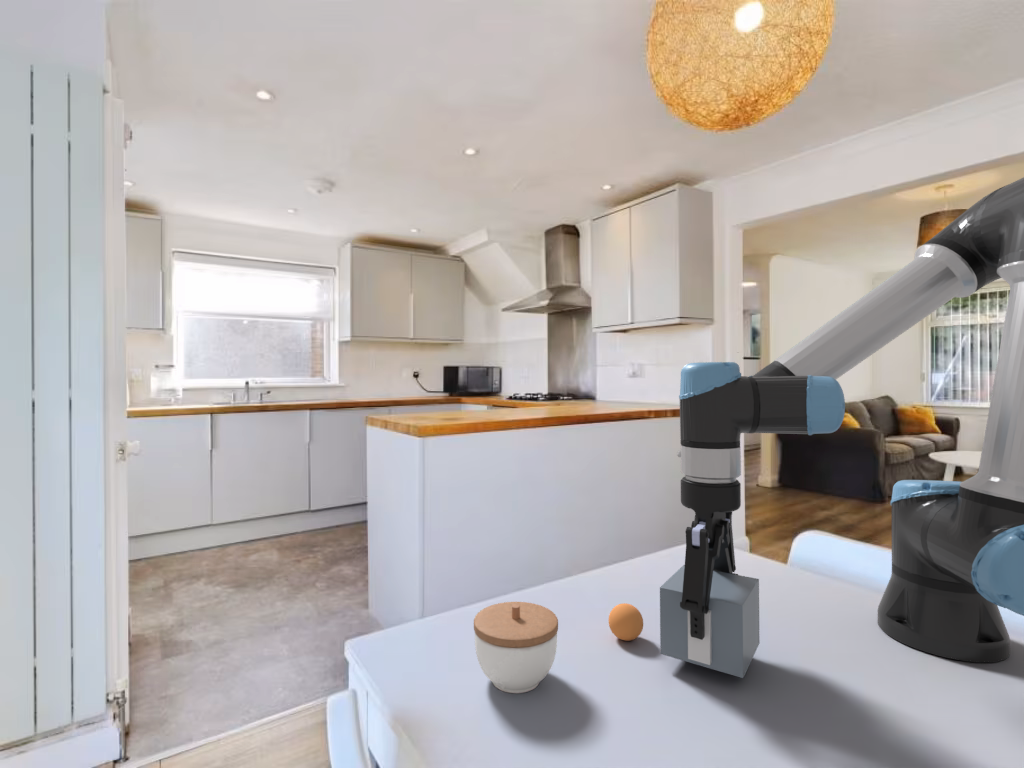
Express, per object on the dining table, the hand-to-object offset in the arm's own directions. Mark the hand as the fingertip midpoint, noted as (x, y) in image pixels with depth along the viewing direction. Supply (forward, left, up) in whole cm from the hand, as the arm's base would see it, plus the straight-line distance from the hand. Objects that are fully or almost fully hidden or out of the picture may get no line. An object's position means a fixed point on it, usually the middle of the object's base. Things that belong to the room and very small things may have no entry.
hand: (711, 642), depth 71 cm
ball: (+12, 0, 0) cm, 12 cm away
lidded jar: (+19, +18, -3) cm, 27 cm away
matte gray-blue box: (0, 0, -1) cm, 1 cm away
